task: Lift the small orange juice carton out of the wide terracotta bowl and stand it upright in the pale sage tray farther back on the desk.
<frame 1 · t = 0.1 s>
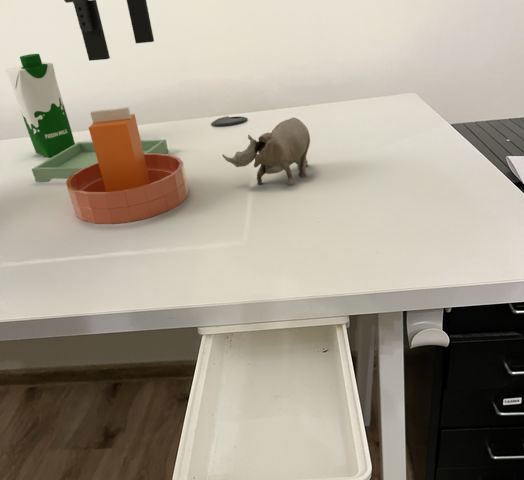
hand: (123, 50, 77), 23 cm above the table, tool pointing down, fingers open, 13 cm apart
tray: (104, 165, 114), on the table
bowl: (133, 203, 94), on the table
rhinoceros figurine: (278, 181, 96), on the table
carton: (132, 200, 94), point 1 cm above the table, touching bowl
milk carton: (56, 152, 128), on the table
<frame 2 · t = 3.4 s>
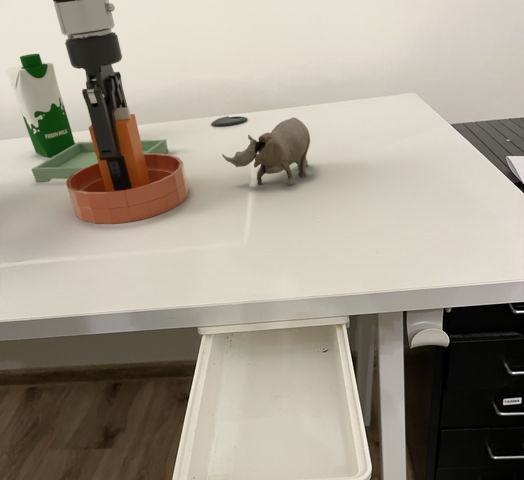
hand: (129, 190, 93), 2 cm above the table, tool pointing down, fingers closed on carton, 6 cm apart
carton: (132, 200, 94), point 1 cm above the table, touching bowl, gripper
everything else where it was.
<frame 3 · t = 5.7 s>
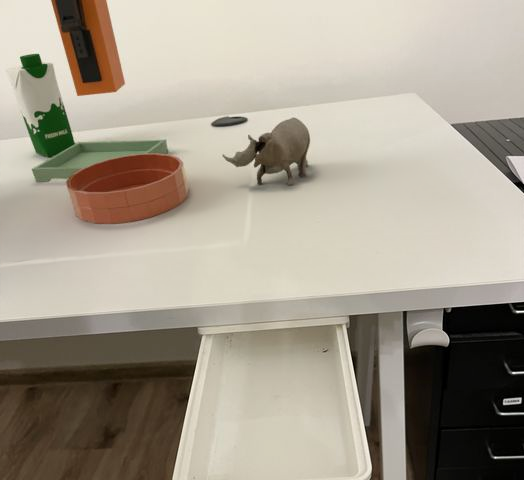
hand: (98, 77, 83), 20 cm above the table, tool pointing down, fingers closed on carton, 6 cm apart
carton: (101, 89, 84), point 18 cm above the table, touching gripper
everything else where it was.
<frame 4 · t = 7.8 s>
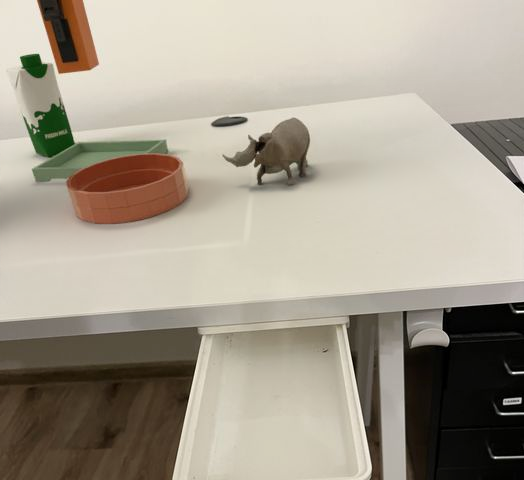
hand: (76, 58, 101), 20 cm above the table, tool pointing down, fingers closed on carton, 6 cm apart
carton: (79, 69, 102), point 18 cm above the table, touching gripper
everything else where it was.
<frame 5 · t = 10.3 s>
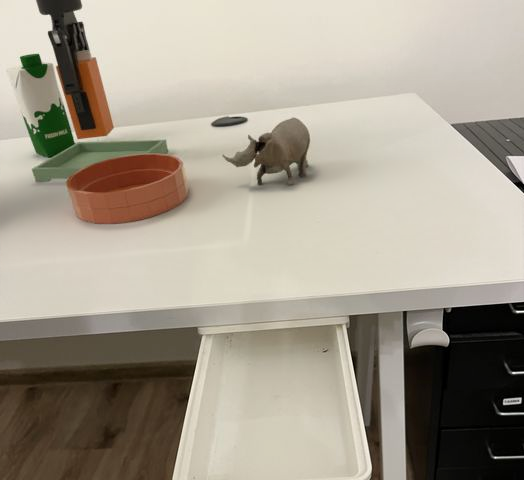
hand: (93, 124, 109), 8 cm above the table, tool pointing down, fingers closed on carton, 6 cm apart
carton: (96, 133, 110), point 6 cm above the table, touching gripper
everything else where it was.
when the fingers open (2 cm above the table, at t = 12.2 s): carton stays where it is, resting on tray.
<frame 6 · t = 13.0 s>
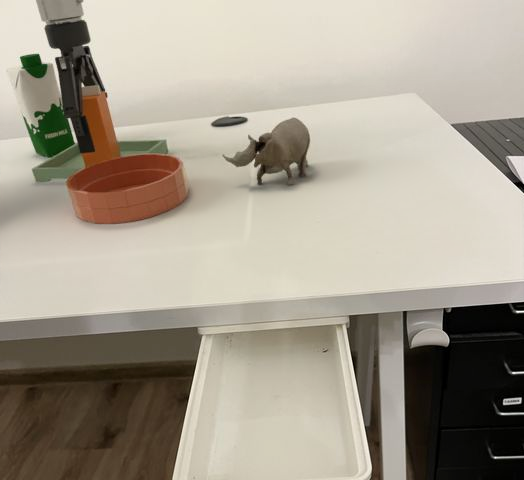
hand: (97, 142, 111), 5 cm above the table, tool pointing down, fingers open, 13 cm apart
carton: (104, 163, 114), resting on tray
everything else where it was.
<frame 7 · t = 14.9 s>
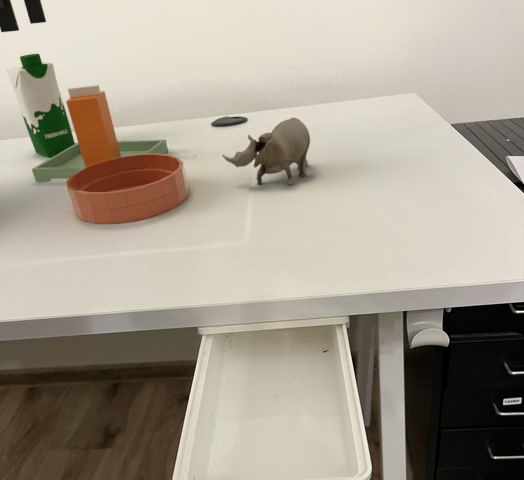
hand: (25, 27, 95), 26 cm above the table, tool pointing down, fingers open, 13 cm apart
nothing on the table moved.
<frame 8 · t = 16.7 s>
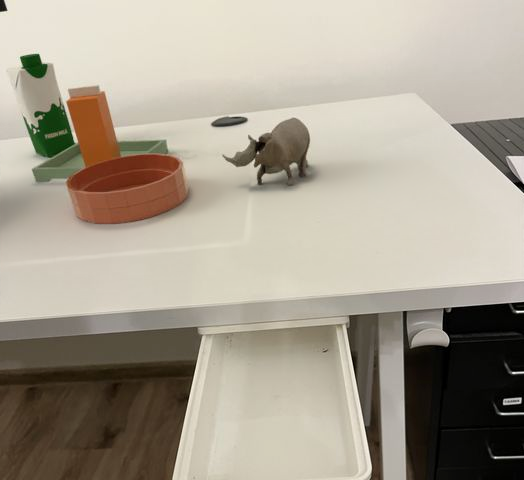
nothing on the table moved.
at the end: carton inside the target area in the tray (0.1 cm from its centre), point 0.5 cm above the tray's base; carton touching tray; carton tilted 0° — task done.
